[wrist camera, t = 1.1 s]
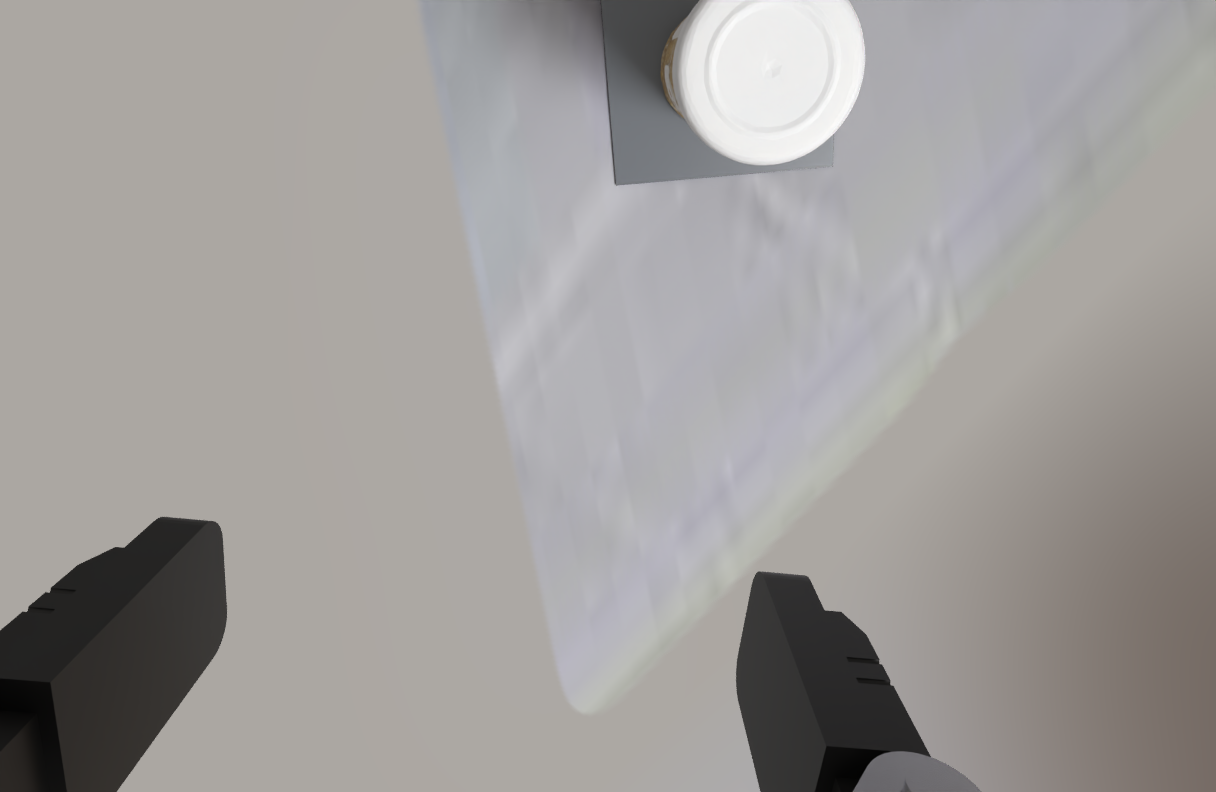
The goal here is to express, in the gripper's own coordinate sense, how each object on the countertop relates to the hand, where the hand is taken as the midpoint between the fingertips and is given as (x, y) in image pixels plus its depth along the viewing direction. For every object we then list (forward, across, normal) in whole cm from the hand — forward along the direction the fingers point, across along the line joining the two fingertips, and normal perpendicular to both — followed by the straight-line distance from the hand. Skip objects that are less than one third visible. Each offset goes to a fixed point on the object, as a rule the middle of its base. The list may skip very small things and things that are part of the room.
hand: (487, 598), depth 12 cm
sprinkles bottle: (+23, -6, -10) cm, 26 cm away
